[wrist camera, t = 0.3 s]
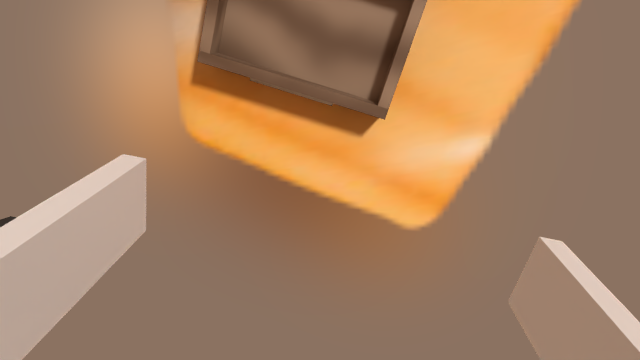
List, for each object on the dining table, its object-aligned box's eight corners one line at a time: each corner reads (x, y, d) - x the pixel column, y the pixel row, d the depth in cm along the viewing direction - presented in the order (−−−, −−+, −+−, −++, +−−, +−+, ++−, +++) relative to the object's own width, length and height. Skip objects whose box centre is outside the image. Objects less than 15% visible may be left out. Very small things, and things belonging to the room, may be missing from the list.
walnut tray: (233, -77, 34) (221, -88, 31) (428, -17, 34) (434, -22, 31) (209, 63, 38) (196, 64, 35) (382, 116, 38) (383, 122, 35)
